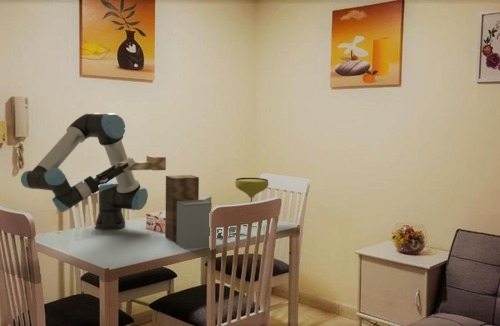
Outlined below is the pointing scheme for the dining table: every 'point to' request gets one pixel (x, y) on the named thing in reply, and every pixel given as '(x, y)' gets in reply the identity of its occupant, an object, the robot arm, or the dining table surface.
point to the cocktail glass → (251, 185)
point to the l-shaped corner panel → (231, 230)
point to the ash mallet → (147, 164)
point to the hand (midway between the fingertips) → (132, 160)
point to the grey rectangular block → (193, 223)
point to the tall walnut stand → (178, 199)
